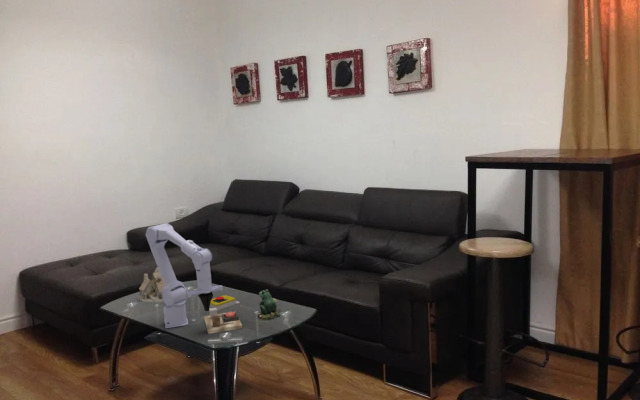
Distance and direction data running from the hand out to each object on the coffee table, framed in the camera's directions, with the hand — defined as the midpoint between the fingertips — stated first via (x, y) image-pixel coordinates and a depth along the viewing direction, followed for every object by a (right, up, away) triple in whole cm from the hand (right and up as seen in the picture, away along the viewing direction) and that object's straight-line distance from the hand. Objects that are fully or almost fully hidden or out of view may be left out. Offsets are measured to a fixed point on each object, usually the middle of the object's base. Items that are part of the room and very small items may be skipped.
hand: (206, 310), depth 227 cm
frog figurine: (+25, -5, +15) cm, 29 cm away
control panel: (+5, -7, +7) cm, 11 cm away
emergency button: (+1, -5, +32) cm, 32 cm away
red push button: (+8, -5, +8) cm, 13 cm away
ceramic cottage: (-35, -4, +48) cm, 60 cm away
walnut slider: (+4, -6, +1) cm, 7 cm away
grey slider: (+1, -5, +11) cm, 12 cm away
